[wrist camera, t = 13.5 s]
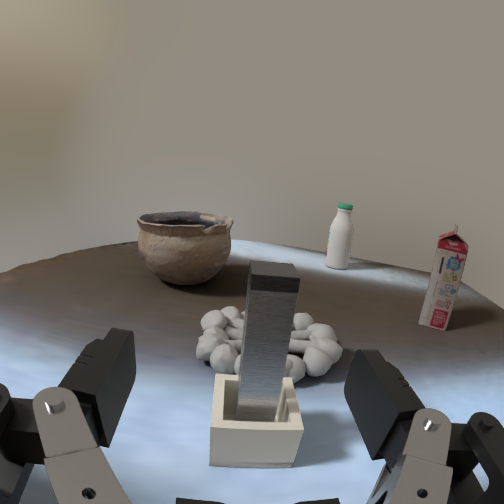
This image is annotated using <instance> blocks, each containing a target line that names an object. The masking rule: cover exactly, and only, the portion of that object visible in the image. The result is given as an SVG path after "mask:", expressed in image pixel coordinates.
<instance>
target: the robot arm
mask: <svg viewBox="0 0 504 504" xmlns="http://www.w3.org/2000/svg"><path fill="white" fill-rule="evenodd" d="M135 376H136V359H135V345H134V334H133V332H132V331H129V330H123V329H117V328H111V329H110V331H109V332H108V334H107V335H106V337H105V338H104V340H101V339H96V340H94V341H93V342H91V343H89V344H88V345H86V347H85V348H84V349H83V351H82V352H81V354H80V356H78V358H77V359H76V361H75V363H74V364H73V365H72V366H71V368H70V369H69V371H68V372H67V374H66V375H65V377H64V378H63V380H62V381H61V383H60V384H59V386H58V387H50V388H46V389H44V390H42V391H40V392H39V393H38V394H37V395H36V396H35V397H34V399H22V398H11V396H10V393H9V391H8V389H7V388H6V387H5V386H4V385H3V384H1V383H0V504H19V501H20V498H21V496H22V493H23V491H24V488H25V486H26V483H27V481H28V478H29V476H30V473H31V471H32V469H33V466H34V464H42V465H45V466H46V470H47V473H48V476H49V479H50V482H51V484H52V487H53V490H54V493H55V495H56V498H57V500H58V503H59V504H131V502H130V500H129V499H128V497H127V495H126V494H125V492H124V490H123V489H122V487H121V485H120V483H119V482H118V480H117V478H116V476H115V475H114V473H113V471H112V469H111V467H110V465H109V463H108V461H107V460H106V458H105V456H104V454H103V452H102V450H101V448H100V446H103V447H107V448H109V446H110V444H111V441H112V438H113V435H114V433H115V430H116V427H117V425H118V422H119V420H120V417H121V414H122V412H123V409H124V407H125V404H126V402H127V399H128V397H129V394H130V392H131V389H132V387H133V384H134V381H135ZM344 394H345V398H346V401H347V403H348V405H349V408H350V410H351V412H352V415H353V417H354V419H355V422H356V424H357V426H358V429H359V431H360V433H361V436H362V438H363V440H364V443H365V445H366V447H367V450H368V452H369V455H370V457H371V459H372V460H378V459H384V458H385V461H386V463H385V465H384V466H383V468H382V470H381V473H380V475H379V477H378V479H377V482H376V484H375V486H374V488H373V490H372V493H371V495H370V497H369V499H368V501H367V503H366V504H504V428H503V426H502V425H501V424H500V422H499V421H498V420H497V419H496V418H495V417H494V416H492V415H490V414H488V413H484V412H477V413H475V414H473V415H472V416H471V418H470V419H469V421H468V423H467V424H458V423H451V422H450V420H449V418H448V417H447V416H446V415H445V414H443V413H442V412H440V411H438V410H435V409H430V408H425V407H424V405H423V404H422V402H421V401H420V399H419V398H418V396H417V395H416V394H415V392H414V391H413V389H412V388H411V386H410V387H409V384H408V382H407V381H406V380H404V376H403V375H402V374H401V372H400V371H399V369H397V368H396V367H395V366H393V365H392V364H391V363H389V362H386V361H385V359H384V358H383V357H382V355H381V354H380V352H379V351H378V350H357V351H356V353H355V355H354V358H353V361H352V364H351V367H350V370H349V373H348V376H347V379H346V381H345V386H344ZM479 462H480V464H481V466H482V468H483V469H484V471H485V473H486V474H487V476H488V478H489V486H488V489H487V490H486V491H485V492H484V491H483V489H482V487H481V485H480V484H479V482H478V480H477V478H476V476H475V474H474V473H473V471H472V470H473V469H474V468H475V467H476V465H477V464H478V463H479ZM176 504H224V503H221V502H214V501H203V500H193V499H184V498H177V497H176ZM295 504H340V502H339V499H338V498H334V499H326V500H316V501H304V502H298V503H295Z"/></svg>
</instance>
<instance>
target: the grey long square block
mask: <svg viewBox="0 0 504 504" xmlns="http://www.w3.org/2000/svg"><path fill="white" fill-rule="evenodd" d="M299 284H300V276H299V275H298V273H297V271H296V269H295V267H294V265H293V264H288V263H276V262H264V261H253V260H250V266H249V276H248V286H247V296H246V306H245V316H244V325H243V335H242V345H241V355H240V365H239V375H238V385H237V395H236V405H235V414H234V421H249V422H274V420H275V416H276V411H277V406H278V401H279V396H280V391H281V386H282V381H283V376H284V371H285V365H286V360H287V355H288V349H289V343H290V338H291V332H292V326H293V321H294V315H295V309H296V302H297V296H298V290H299Z"/></svg>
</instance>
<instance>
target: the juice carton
mask: <svg viewBox="0 0 504 504" xmlns="http://www.w3.org/2000/svg"><path fill="white" fill-rule="evenodd" d="M457 230H458V226H457V225H455V228H454V231H452V232H449V233H446V234H442V235H441V236H439V240H438V245H437V250H436V255H435V259H434V264H433V268H432V272H431V277H430V281H429V285H428V289H427V292H426V296H425V300H424V304H423V307H422V311H421V314H420V319H419V323H418V324H421V325H424V326H428V327H432V328H435V329H439V330H443V331H445V330H446V328H447V325H448V322H449V319H450V316H451V313H452V310H453V306H454V303H455V300H456V296H457V293H458V289H459V285H460V281H461V278H462V274H463V270H464V265H465V261H466V256H467V252H468V245H467V244H466V242H465V241H464V240H463V239H462V238H461V237H460V236H459V235H458V234H457Z"/></svg>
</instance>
